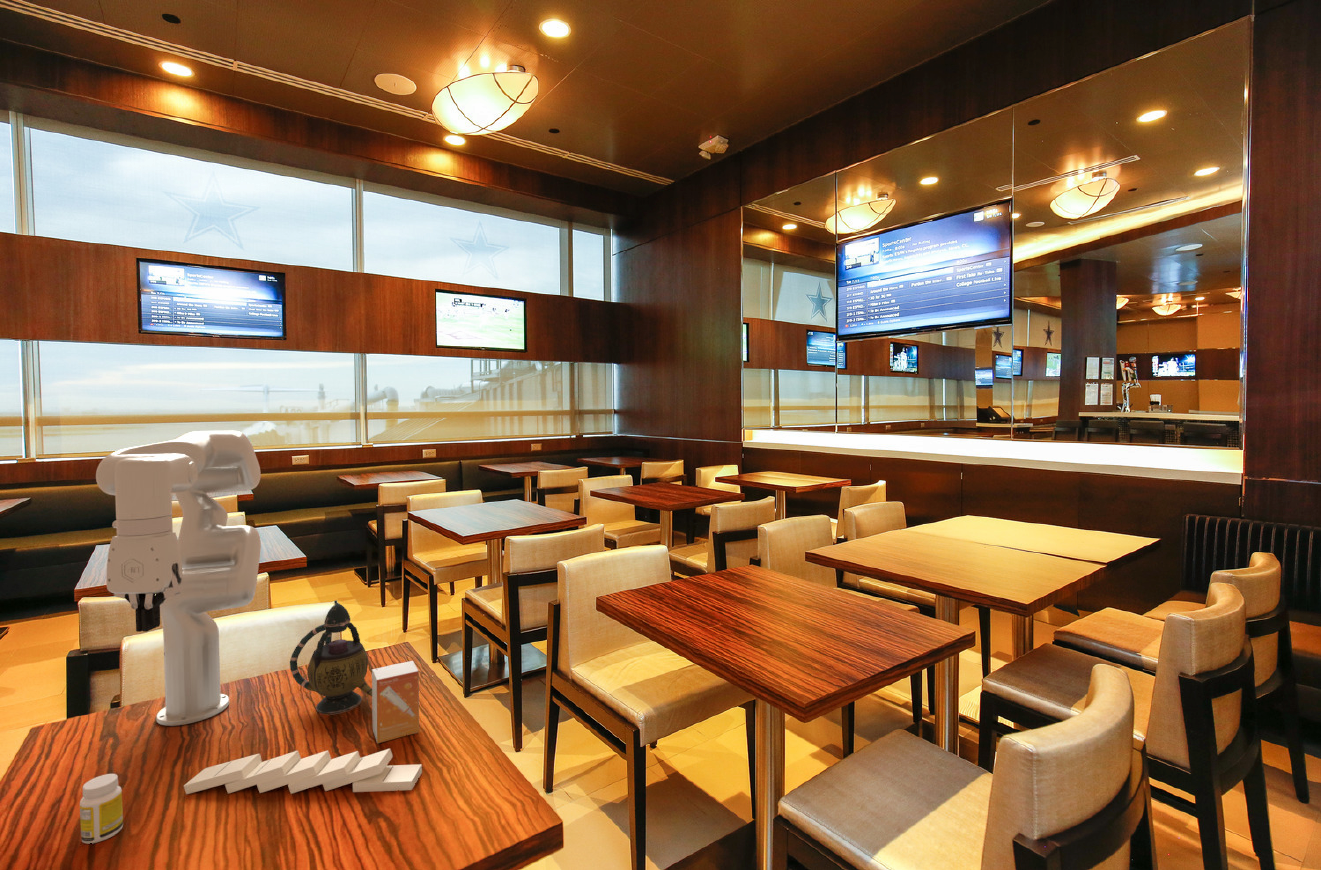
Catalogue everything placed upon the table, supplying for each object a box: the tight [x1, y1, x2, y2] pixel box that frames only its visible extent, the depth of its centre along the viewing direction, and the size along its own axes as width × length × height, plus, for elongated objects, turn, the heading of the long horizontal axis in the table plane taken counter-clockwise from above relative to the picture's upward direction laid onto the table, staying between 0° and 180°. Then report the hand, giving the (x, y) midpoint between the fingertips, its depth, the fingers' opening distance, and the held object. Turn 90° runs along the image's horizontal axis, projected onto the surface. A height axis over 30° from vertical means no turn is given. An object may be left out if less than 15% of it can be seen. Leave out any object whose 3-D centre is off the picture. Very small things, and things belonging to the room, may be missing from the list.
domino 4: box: [287, 750, 361, 795], centre depth 104 cm, size 2×5×10 cm
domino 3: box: [256, 750, 332, 794], centre depth 105 cm, size 2×5×10 cm
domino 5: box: [322, 748, 394, 792], centre depth 105 cm, size 2×5×10 cm
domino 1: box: [183, 753, 263, 795], centre depth 104 cm, size 2×5×10 cm
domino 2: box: [224, 750, 302, 794], centre depth 105 cm, size 2×5×10 cm
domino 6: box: [352, 763, 423, 793], centre depth 105 cm, size 2×5×10 cm
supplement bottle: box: [79, 773, 124, 845], centre depth 92 cm, size 5×5×8 cm
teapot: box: [289, 600, 372, 716], centre depth 132 cm, size 12×25×23 cm, turn 70°
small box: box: [371, 660, 420, 744], centre depth 122 cm, size 8×6×13 cm
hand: (148, 628), depth 106 cm, fingers closed
